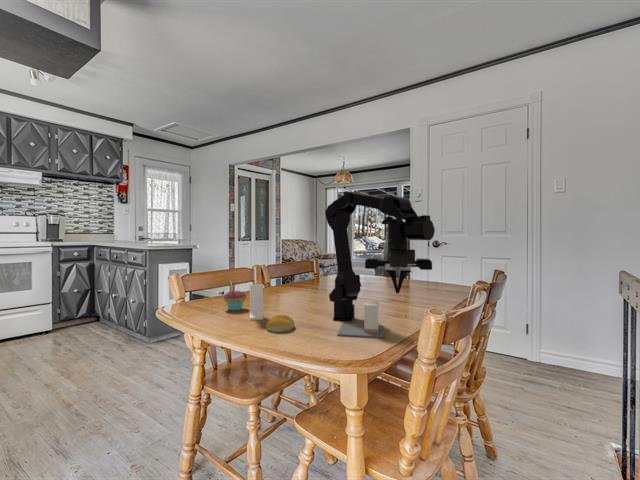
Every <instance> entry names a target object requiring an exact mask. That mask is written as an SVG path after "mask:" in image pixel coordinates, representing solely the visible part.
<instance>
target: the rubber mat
mask: <svg viewBox="0 0 640 480" xmlns="http://www.w3.org/2000/svg"><path fill="white" fill-rule="evenodd" d="M384 334H385V332H384V325H378V333H367V332H364V324H357V323H353V324H352V323H341V325H340V327H339V330H338V332H337V336H339V337H354V338H368V339H369V338H370V339H371V338H372V339H373V338H374V339H384V337H385V335H384Z"/></svg>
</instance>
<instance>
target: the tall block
mask: <svg viewBox="0 0 640 480" xmlns="http://www.w3.org/2000/svg"><path fill="white" fill-rule="evenodd" d="M379 304H380V303H379V301H365V302H364V305H363V306H364V307H363V308H364V309H363V311H364V317H363V318H364V322H363V323H364V324H363V325H364V332H367V333H378V326H379Z"/></svg>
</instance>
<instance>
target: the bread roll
mask: <svg viewBox="0 0 640 480" xmlns="http://www.w3.org/2000/svg"><path fill="white" fill-rule="evenodd" d="M294 327H295V321H294V319H293V317H291V316H289V315H286V314H278V315H275V316H273V317H272V318H271V319H270V320H269V321H267V323H266V325H265V328H266V330H268V331H269V332H273V333H284V332H290V331H291V330H292V331H293V329H294Z"/></svg>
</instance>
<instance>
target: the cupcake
mask: <svg viewBox="0 0 640 480" xmlns="http://www.w3.org/2000/svg"><path fill="white" fill-rule="evenodd" d="M229 284H230V290H229V291H228V292H227V293H225V294H224V296H223V300H224V302H225V304H226V306H227V307H228V308H227V309H228V310H229V311H240V310H242V308H243V304H244V302H245V301H246V300H247V295H246V293H245V292H243V291H240V290H234V287H233V281H232V279H231V278H229Z"/></svg>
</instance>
